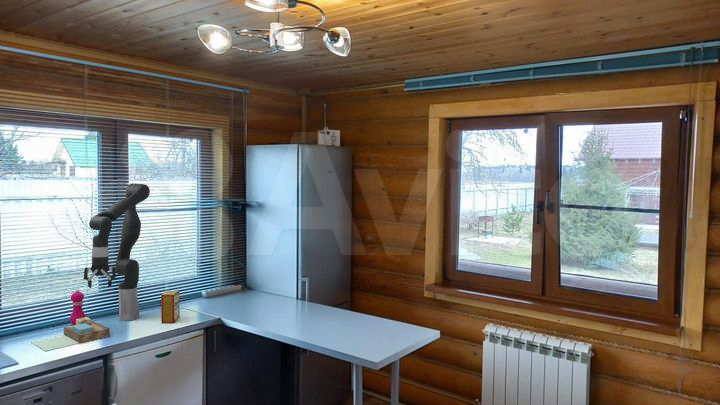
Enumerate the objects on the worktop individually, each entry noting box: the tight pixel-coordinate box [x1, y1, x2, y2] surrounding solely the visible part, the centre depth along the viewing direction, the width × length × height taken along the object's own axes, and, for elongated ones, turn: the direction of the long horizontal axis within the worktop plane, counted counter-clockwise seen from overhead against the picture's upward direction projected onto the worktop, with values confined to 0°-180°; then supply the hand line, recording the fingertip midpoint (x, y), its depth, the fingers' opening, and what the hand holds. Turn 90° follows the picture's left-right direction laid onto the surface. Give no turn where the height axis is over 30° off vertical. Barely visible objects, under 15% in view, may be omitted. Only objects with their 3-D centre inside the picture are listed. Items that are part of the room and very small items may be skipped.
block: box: [76, 316, 92, 325], centre depth 246 cm, size 5×5×3 cm
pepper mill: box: [69, 288, 87, 326], centre depth 254 cm, size 7×7×20 cm
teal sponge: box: [72, 323, 93, 334], centre depth 237 cm, size 6×9×2 cm, turn 51°
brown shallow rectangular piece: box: [63, 320, 111, 344], centre depth 241 cm, size 14×18×4 cm
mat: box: [31, 334, 80, 352], centre depth 230 cm, size 14×18×1 cm
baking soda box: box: [160, 290, 181, 325], centre depth 267 cm, size 10×6×16 cm
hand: (99, 287), depth 249 cm, fingers open, 8 cm apart
